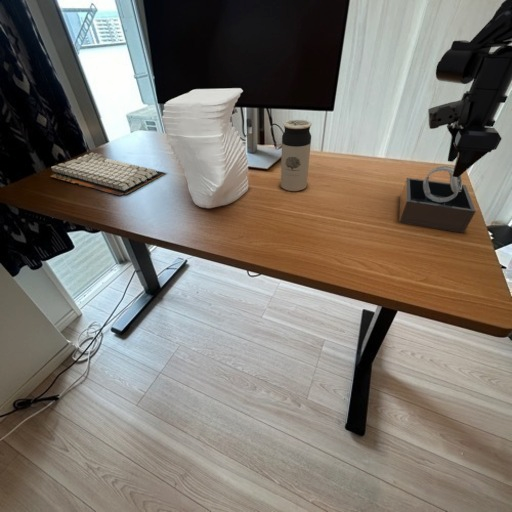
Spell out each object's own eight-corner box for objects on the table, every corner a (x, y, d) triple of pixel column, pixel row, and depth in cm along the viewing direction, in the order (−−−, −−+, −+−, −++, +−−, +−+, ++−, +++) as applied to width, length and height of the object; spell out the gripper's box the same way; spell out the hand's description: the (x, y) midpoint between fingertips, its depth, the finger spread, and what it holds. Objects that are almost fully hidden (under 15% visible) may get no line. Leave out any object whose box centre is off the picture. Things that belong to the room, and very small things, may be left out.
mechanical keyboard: (166, 173, 94) (163, 164, 91) (123, 198, 81) (119, 187, 79) (93, 159, 107) (90, 150, 105) (47, 178, 95) (42, 168, 93)
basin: (455, 205, 71) (465, 185, 68) (463, 233, 62) (476, 211, 58) (399, 197, 76) (406, 177, 72) (399, 222, 66) (407, 201, 62)
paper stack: (259, 180, 87) (257, 88, 70) (226, 225, 67) (211, 112, 51) (201, 173, 92) (186, 86, 76) (155, 213, 73) (121, 108, 57)
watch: (446, 220, 65) (468, 176, 57) (411, 210, 68) (427, 168, 61) (450, 210, 68) (472, 168, 61) (416, 201, 72) (432, 161, 65)
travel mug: (287, 178, 87) (290, 118, 76) (310, 183, 84) (317, 121, 72) (276, 188, 82) (277, 125, 71) (299, 194, 79) (304, 128, 67)
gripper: (436, 79, 59) (412, 151, 69) (445, 95, 46) (413, 180, 56) (496, 80, 56) (462, 155, 66) (525, 97, 43) (476, 188, 53)
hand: (452, 168), depth 60 cm, fingers open, 9 cm apart
